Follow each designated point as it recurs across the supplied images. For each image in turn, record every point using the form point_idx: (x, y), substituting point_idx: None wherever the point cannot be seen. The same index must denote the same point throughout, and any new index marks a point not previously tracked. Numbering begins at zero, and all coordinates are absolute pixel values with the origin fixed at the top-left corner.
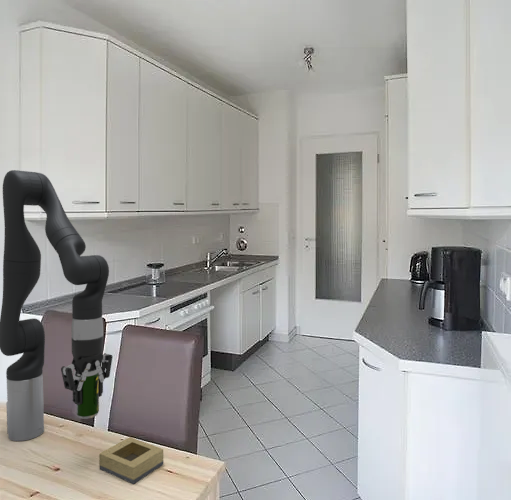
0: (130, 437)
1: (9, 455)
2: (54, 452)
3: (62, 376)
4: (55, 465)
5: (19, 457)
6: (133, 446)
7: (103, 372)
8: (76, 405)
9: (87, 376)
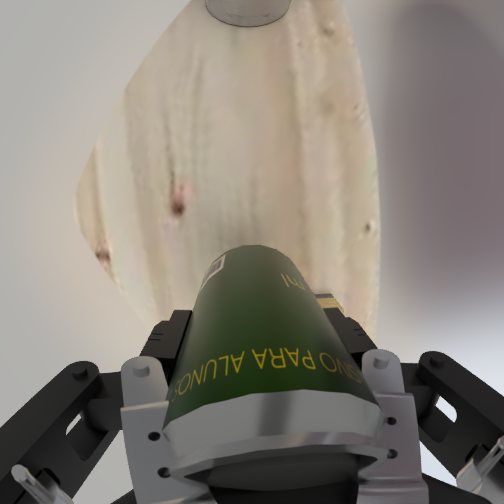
0: (342, 312)
1: (157, 55)
2: (224, 126)
3: (4, 426)
4: (185, 188)
5: (162, 80)
6: None
7: (432, 394)
8: (209, 275)
9: None
